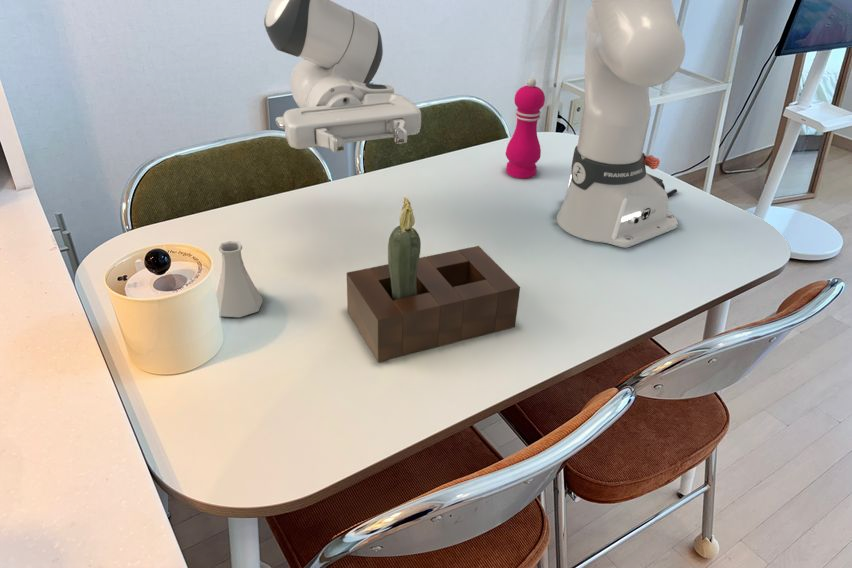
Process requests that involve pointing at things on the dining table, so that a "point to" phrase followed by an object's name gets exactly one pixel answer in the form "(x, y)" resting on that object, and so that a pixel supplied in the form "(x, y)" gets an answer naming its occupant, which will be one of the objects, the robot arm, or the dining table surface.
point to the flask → (236, 284)
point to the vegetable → (404, 255)
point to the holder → (433, 303)
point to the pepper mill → (525, 132)
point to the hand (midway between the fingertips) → (371, 142)
